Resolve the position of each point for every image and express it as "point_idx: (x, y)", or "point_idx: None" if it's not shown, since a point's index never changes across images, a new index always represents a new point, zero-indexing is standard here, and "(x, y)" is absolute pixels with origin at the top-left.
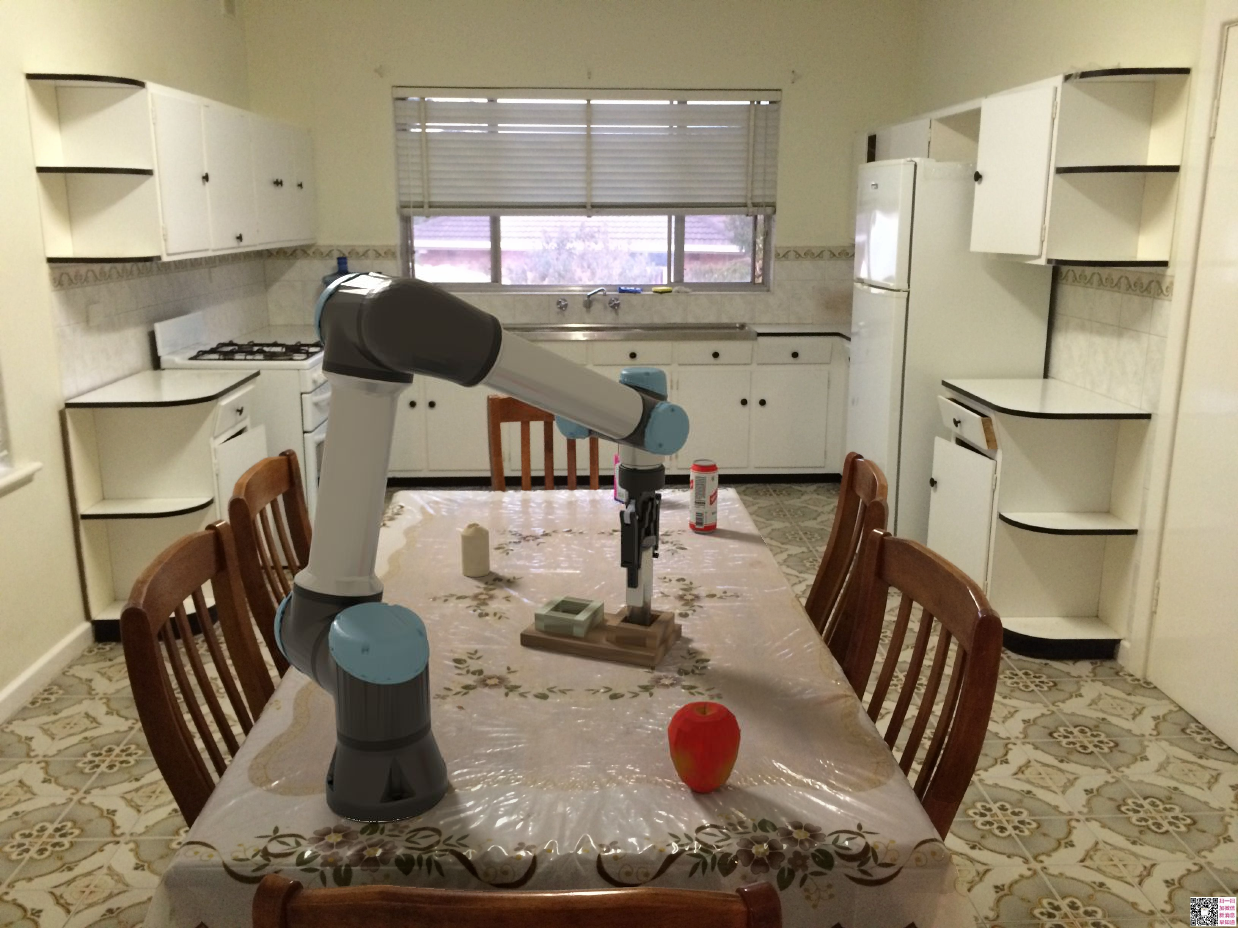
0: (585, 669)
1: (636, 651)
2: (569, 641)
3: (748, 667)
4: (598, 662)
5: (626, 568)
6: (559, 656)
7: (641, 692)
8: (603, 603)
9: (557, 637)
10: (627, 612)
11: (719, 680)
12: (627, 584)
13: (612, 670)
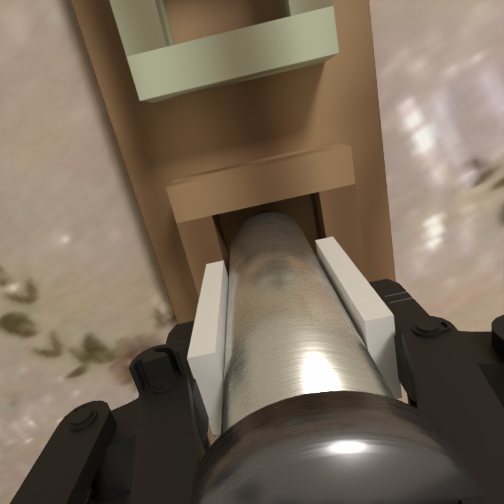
0: (65, 192)
1: (174, 284)
2: (99, 84)
3: None
4: (120, 195)
5: (188, 352)
6: (73, 77)
7: (69, 355)
8: (332, 55)
9: (96, 25)
10: (240, 235)
11: (217, 436)
12: (169, 334)
13: (108, 249)
